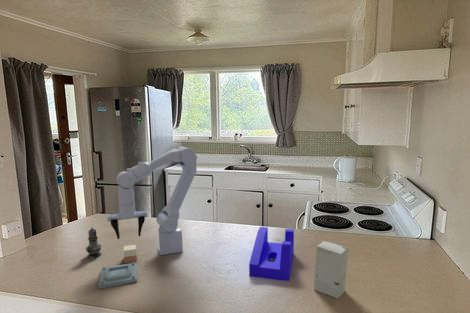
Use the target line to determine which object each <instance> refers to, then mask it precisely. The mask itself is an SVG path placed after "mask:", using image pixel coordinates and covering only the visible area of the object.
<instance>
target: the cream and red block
mask: <svg viewBox="0 0 470 313" xmlns="http://www.w3.org/2000/svg"><path fill="white" fill-rule="evenodd" d="M123 259H124V260H123V262H124V264H129V263H132V262H137V261H138V258H137V245H136V244H130V245H124V246H123Z"/></svg>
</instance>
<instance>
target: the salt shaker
mask: <svg viewBox="0 0 470 313" xmlns="http://www.w3.org/2000/svg"><path fill="white" fill-rule="evenodd" d="M87 233H88V238H87V240H88V245H87V246H86V247H85V251H86V252H87V254H88V255H87V256H86V258H87V259H96V258H99V257H101V256H102V252H100V251H101V249H102V244H101V243H98V239H99V238H98V236H97V230H96V229H95V228H93V226H92V227H91V228H90V229H89V230H88V232H87Z"/></svg>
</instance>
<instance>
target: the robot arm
mask: <svg viewBox="0 0 470 313" xmlns="http://www.w3.org/2000/svg"><path fill="white" fill-rule="evenodd" d="M197 159H198V156H197V154H196V152H195V150H194V149H193V148H192V147H186V146H183V145H180V146H177V147H175V148H172V149H170V150H169V151H166V152H165V153H164V154H162V155H159V156H158V157H156V158H155V159H153V160H150V161H149V162H146V161H143V162H142V161H139V162H137V165H134V166H132V167H131V168H129V167H127V168H126V171H123V170H122V171H120V172H119V173H118V174H117V175H116V177H115V182H116V184H117V190H118V191H117V194H118V196H117V197H118V206H119V208H118V210H119V213H113V214H109V215H107V216H106V218H107V219H106V220H107V221H106V222H108V223H109V222H110V225H111V227H112V229H113V230H114V232H115V234H116V238H117V240H120V230H119V229H120V228H119V221H121V220H129V219H137V222H138V224H137V225H138V226H137V228H138V229H137V230H138V234H137V235H138V237H141V232H142V229H143V225H144V224H145V220H146V218H148V211H147V210H144V211H142V210H139V211H138V210H136V202H135V190H134V186H135V184H136V183H138V182H140V181H141V180H143V179H145V178H147V177H149V176H150V175H152V173H153V171H154V170H156V169H158V168H160V167H162V166H164V165H167V164H168V163H171V162H175V163H179V164H180V167H181V170H182V172H181V174H180V176H179V179H178V180H177V183H176V184H175V188H174V189H173V192H172V193H171V196H170V198H169V200H168V203H167V205H165V206H164V207H163V208H162V210H161V211H160V212H159V214H158V215H157V216H156V223H157V224H158V225H159V228H158V246H157V249H158V254H159V256H164V255H171V254H177V253H183V252H184V249H183V248H184V247H183V246H184V245H183V233H182V229H181V227H178V226H179V225H178V224H179V219H180V209H181V207H182V204H183V202H184V200H185V197H186V195H187V193H188V191H189V189H190V187H191V184H192V183H193V180H194V178H195V175H196V173H197V171H198V170H197Z"/></svg>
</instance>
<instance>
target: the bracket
mask: <svg viewBox="0 0 470 313" xmlns="http://www.w3.org/2000/svg"><path fill="white" fill-rule="evenodd" d="M268 227H269V226H267V227H266V226H260V227H259V229H258V230H257V234H256V236H255V241H254V244H253V249H252V252H251V255H250V260H249V264H248V269H249V270H248V272H249V273H248V274H249V275H248V276H249V277H252V278H259V279H265V280H267V279H268V280H275V281H284V282H290V276H291V271H292V267H293V266H292V265H293V259H294V255H295V254H294V251H295V250H294V249H295V245H294V244H295V243H294V242H295V240H294V239H295V229H290V228H285V231H284V234H285V235H284V240H282V241H281V243H280V242H271V241H269V238H268V237H269V233H268V232H269V230H268ZM270 260H275V261H270Z"/></svg>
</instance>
